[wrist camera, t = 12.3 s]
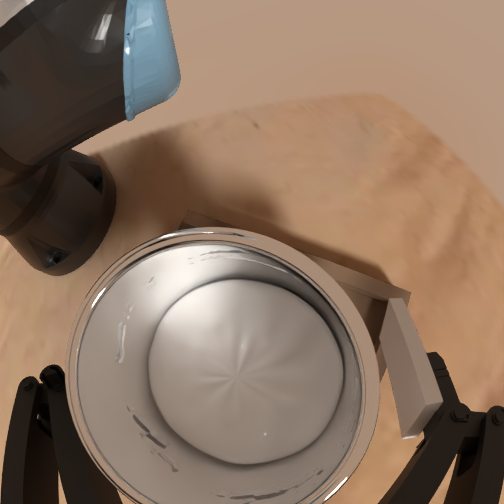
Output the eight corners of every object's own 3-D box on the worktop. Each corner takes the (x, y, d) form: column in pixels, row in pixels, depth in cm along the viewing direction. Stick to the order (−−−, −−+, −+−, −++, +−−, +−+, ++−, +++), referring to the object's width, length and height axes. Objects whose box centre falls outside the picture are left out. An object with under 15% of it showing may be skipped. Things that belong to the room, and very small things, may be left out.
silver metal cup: (287, 426, 17) (264, 577, 3) (200, 376, 19) (29, 409, 5) (338, 338, 19) (449, 312, 4) (248, 292, 20) (152, 171, 6)
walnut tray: (114, 405, 23) (99, 408, 21) (197, 221, 28) (188, 210, 25) (307, 499, 18) (307, 512, 16) (400, 297, 23) (411, 292, 20)
